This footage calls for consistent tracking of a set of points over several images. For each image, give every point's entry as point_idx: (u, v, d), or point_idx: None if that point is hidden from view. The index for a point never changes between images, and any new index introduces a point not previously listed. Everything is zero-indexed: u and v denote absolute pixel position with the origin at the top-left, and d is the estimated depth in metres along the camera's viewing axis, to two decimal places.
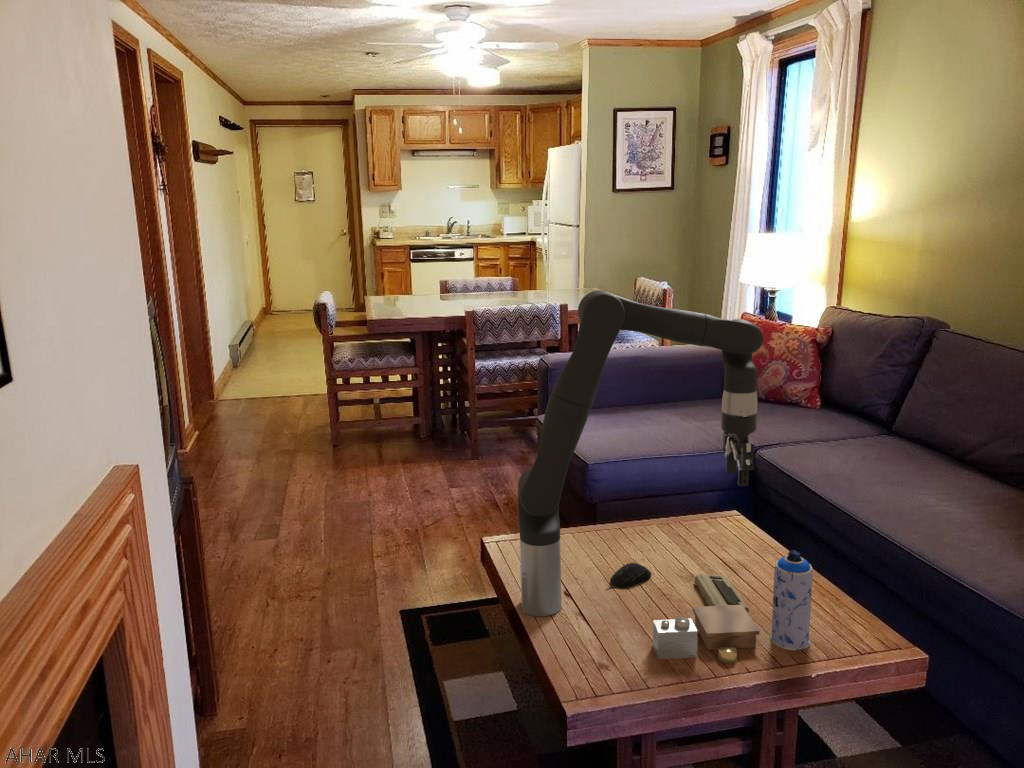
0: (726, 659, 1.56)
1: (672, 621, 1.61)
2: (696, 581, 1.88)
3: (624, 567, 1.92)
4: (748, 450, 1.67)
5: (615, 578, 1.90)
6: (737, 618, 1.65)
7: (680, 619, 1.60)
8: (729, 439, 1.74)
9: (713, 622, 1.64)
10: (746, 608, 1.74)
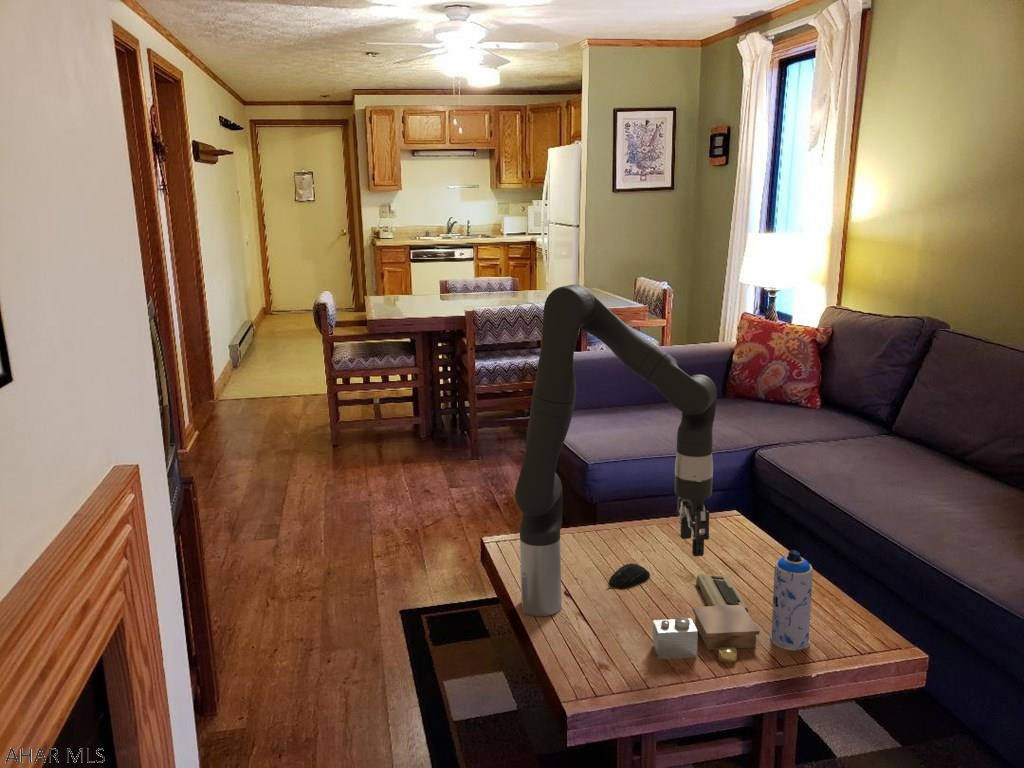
0: (726, 659, 1.56)
1: (672, 621, 1.61)
2: (697, 581, 1.88)
3: (623, 568, 1.92)
4: (702, 519, 1.53)
5: (613, 579, 1.90)
6: (737, 618, 1.65)
7: (680, 619, 1.60)
8: (683, 504, 1.61)
9: (713, 622, 1.64)
10: (745, 608, 1.74)
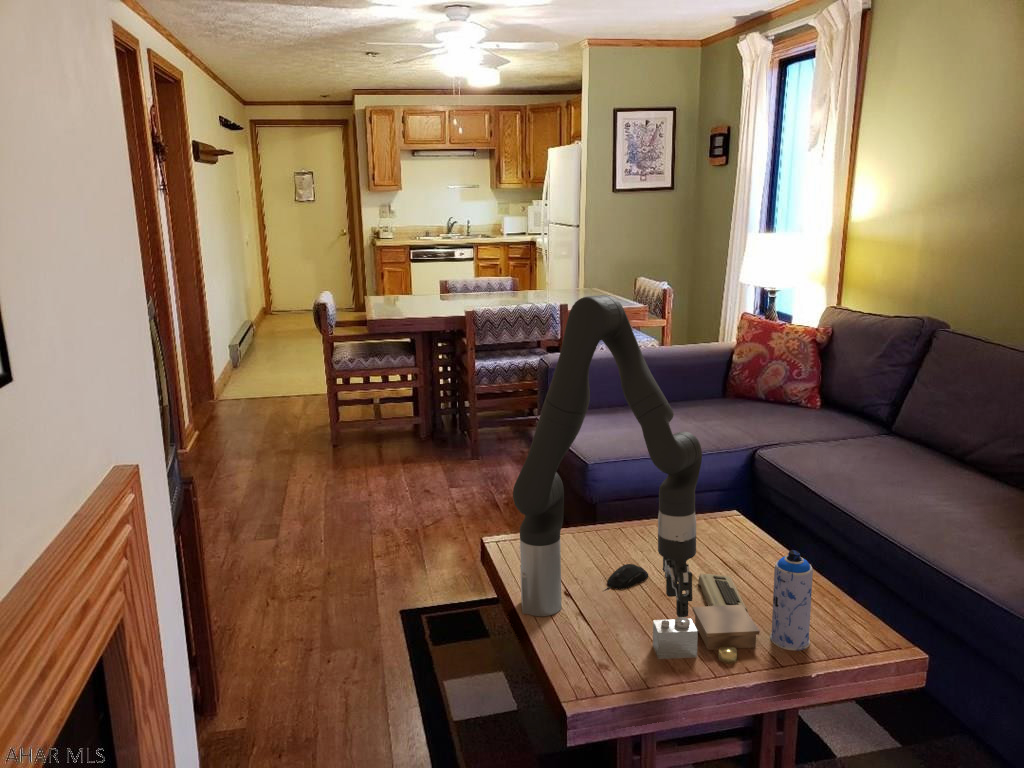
0: (726, 659, 1.56)
1: (672, 621, 1.61)
2: (699, 580, 1.88)
3: (621, 568, 1.92)
4: (685, 581, 1.50)
5: (612, 579, 1.90)
6: (737, 618, 1.65)
7: (680, 619, 1.60)
8: (667, 562, 1.57)
9: (713, 622, 1.64)
10: (745, 609, 1.74)
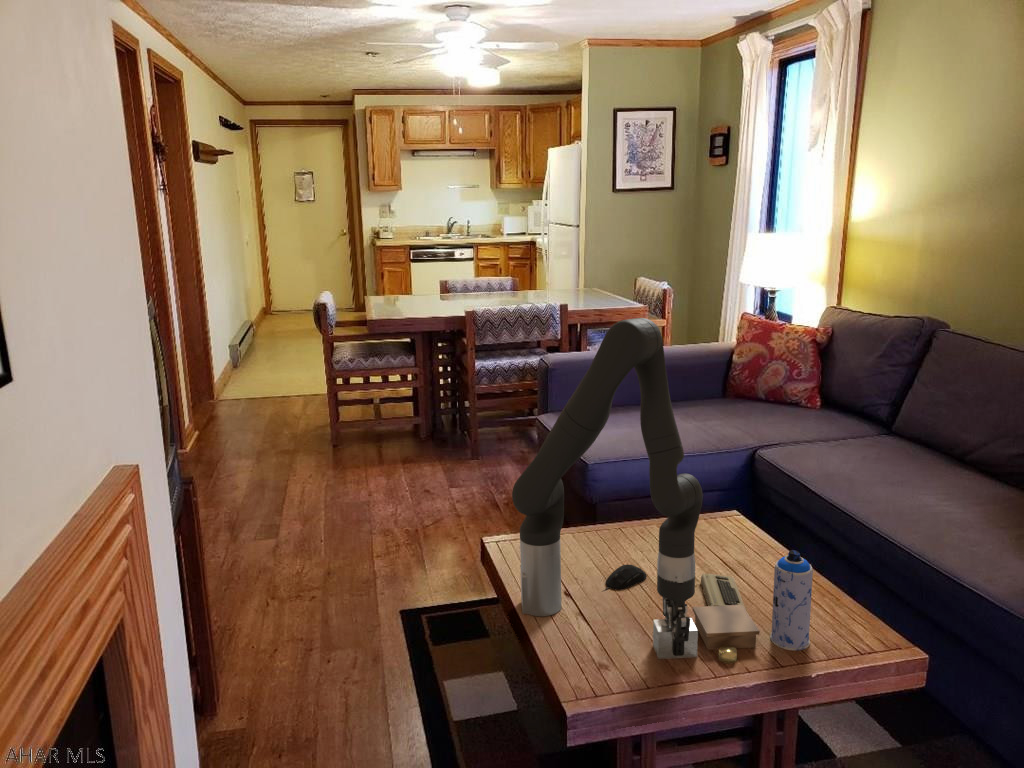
0: (726, 659, 1.56)
1: None
2: (701, 580, 1.88)
3: (619, 569, 1.92)
4: (683, 626, 1.52)
5: (610, 580, 1.89)
6: (737, 618, 1.65)
7: None
8: (666, 600, 1.59)
9: (713, 622, 1.64)
10: None
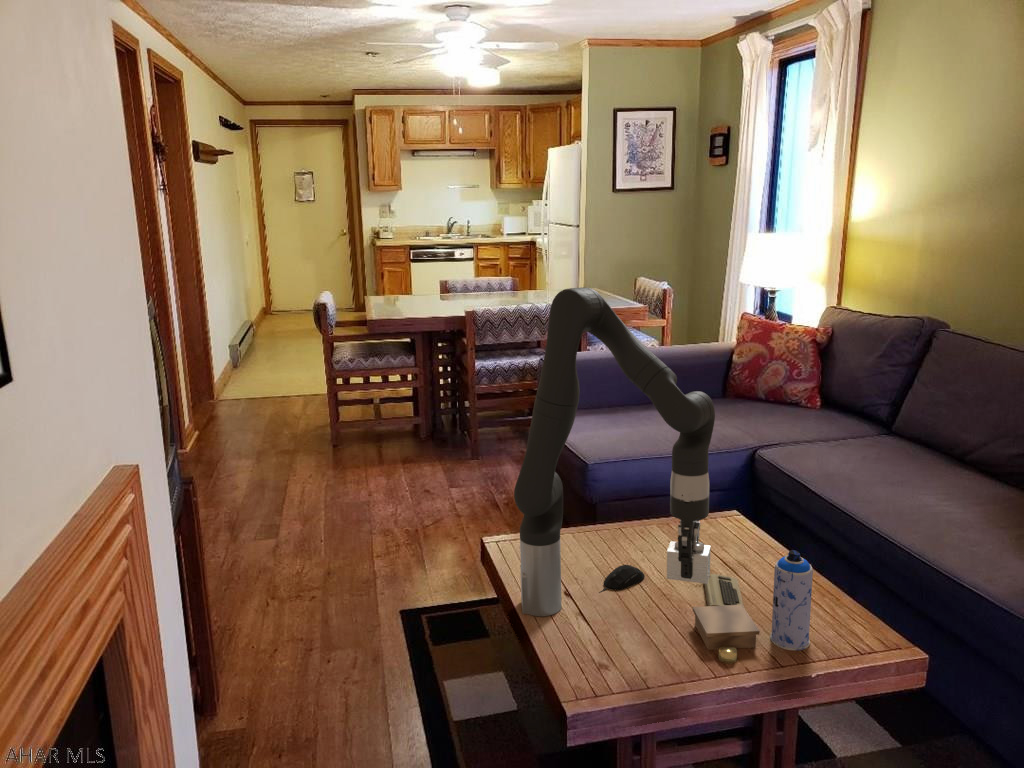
0: (726, 659, 1.56)
1: None
2: None
3: (617, 569, 1.91)
4: (684, 544, 1.50)
5: (608, 580, 1.89)
6: (737, 618, 1.65)
7: None
8: (680, 522, 1.57)
9: (713, 622, 1.64)
10: None
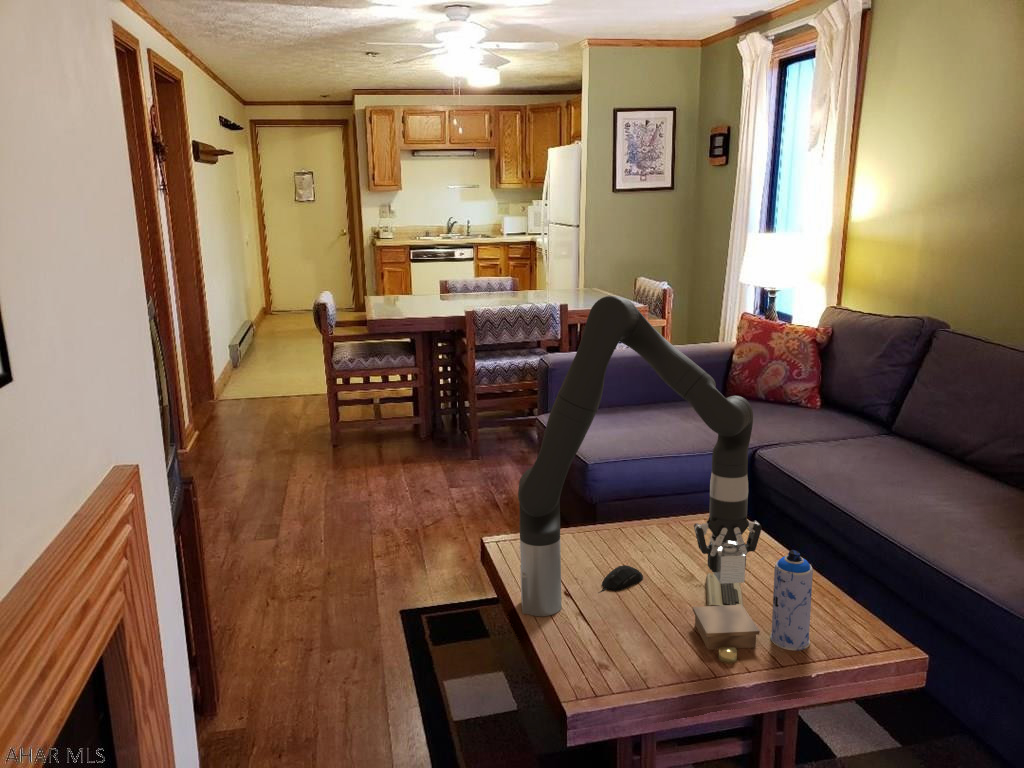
0: (726, 659, 1.56)
1: None
2: (706, 580, 1.88)
3: (616, 570, 1.91)
4: (696, 533, 1.61)
5: (606, 581, 1.89)
6: (737, 618, 1.65)
7: (732, 545, 1.60)
8: None
9: (713, 622, 1.64)
10: None
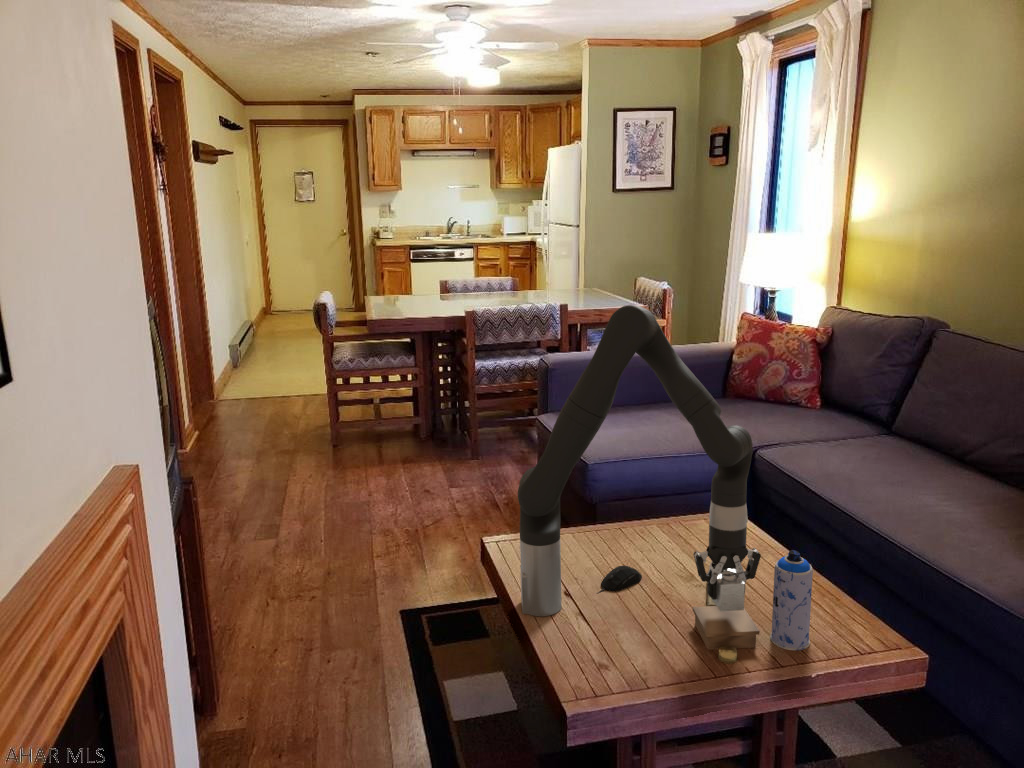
0: (726, 659, 1.56)
1: None
2: None
3: (615, 570, 1.91)
4: (695, 560, 1.62)
5: (605, 581, 1.89)
6: (737, 618, 1.65)
7: (731, 573, 1.62)
8: None
9: (713, 622, 1.64)
10: None
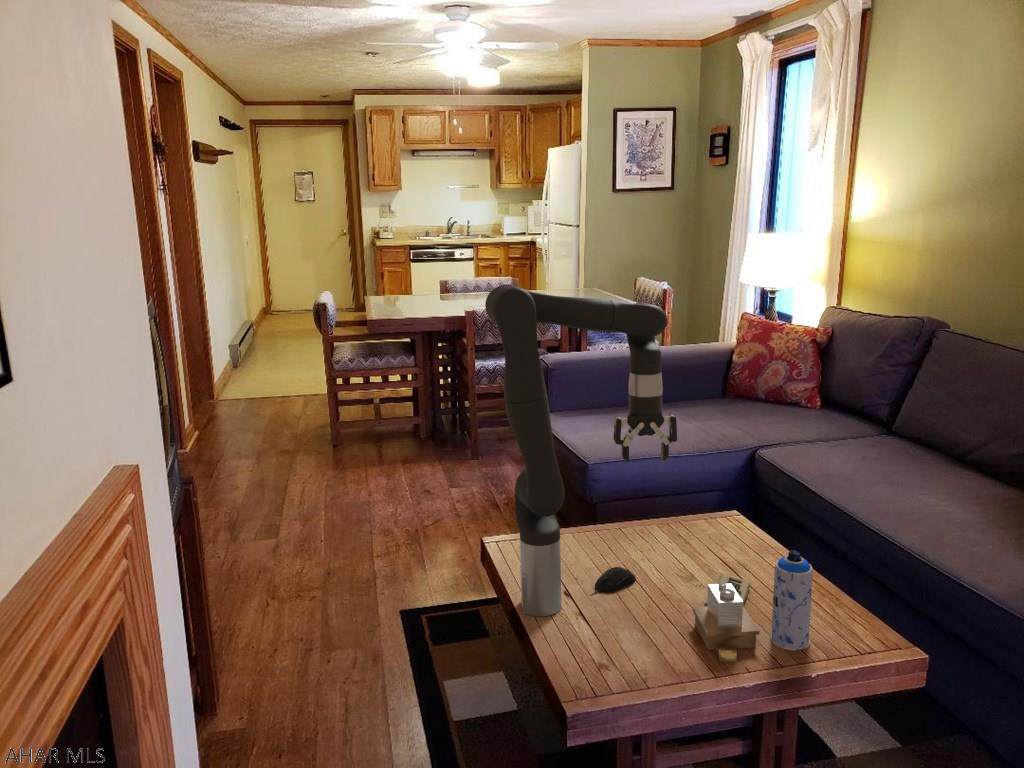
0: (726, 659, 1.56)
1: None
2: None
3: (608, 571, 1.90)
4: (615, 424, 1.77)
5: (599, 582, 1.88)
6: None
7: (730, 591, 1.62)
8: None
9: (713, 622, 1.64)
10: None
